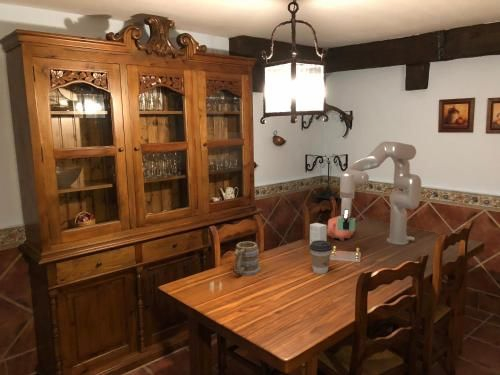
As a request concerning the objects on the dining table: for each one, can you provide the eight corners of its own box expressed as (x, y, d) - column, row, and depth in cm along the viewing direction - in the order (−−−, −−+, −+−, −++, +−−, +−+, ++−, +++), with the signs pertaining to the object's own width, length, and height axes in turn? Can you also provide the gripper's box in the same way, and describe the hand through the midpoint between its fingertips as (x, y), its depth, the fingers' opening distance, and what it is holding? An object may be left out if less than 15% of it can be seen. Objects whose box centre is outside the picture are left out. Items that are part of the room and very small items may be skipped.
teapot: (341, 231, 279) (342, 211, 276) (358, 235, 270) (359, 214, 267) (322, 239, 263) (322, 217, 261) (339, 243, 255) (340, 221, 252)
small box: (326, 246, 251) (327, 225, 248) (319, 248, 247) (319, 227, 244) (316, 242, 257) (316, 222, 255) (309, 245, 253) (309, 224, 251)
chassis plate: (360, 254, 236) (360, 247, 235) (360, 262, 224) (360, 254, 224) (331, 252, 240) (331, 245, 239) (329, 259, 229) (329, 252, 228)
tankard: (241, 264, 224) (241, 237, 221) (263, 268, 218) (263, 240, 216) (223, 278, 206) (222, 249, 203) (246, 282, 201) (245, 252, 198)
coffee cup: (323, 277, 205) (324, 248, 202) (304, 272, 212) (304, 243, 209) (336, 270, 213) (336, 242, 210) (317, 265, 220) (317, 238, 218)
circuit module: (355, 228, 230) (355, 218, 229) (354, 231, 225) (354, 220, 224) (338, 227, 233) (338, 216, 232) (337, 229, 228) (337, 219, 227)
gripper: (341, 191, 235) (340, 223, 238) (338, 198, 219) (338, 231, 222) (354, 192, 233) (353, 223, 236) (353, 198, 216) (352, 232, 220)
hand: (346, 227), depth 229 cm, fingers closed on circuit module, 5 cm apart
